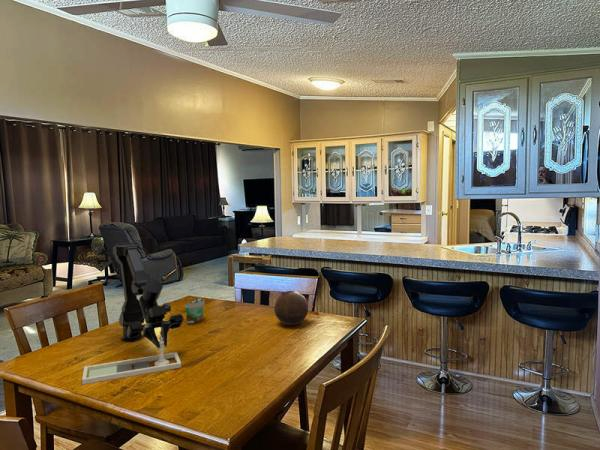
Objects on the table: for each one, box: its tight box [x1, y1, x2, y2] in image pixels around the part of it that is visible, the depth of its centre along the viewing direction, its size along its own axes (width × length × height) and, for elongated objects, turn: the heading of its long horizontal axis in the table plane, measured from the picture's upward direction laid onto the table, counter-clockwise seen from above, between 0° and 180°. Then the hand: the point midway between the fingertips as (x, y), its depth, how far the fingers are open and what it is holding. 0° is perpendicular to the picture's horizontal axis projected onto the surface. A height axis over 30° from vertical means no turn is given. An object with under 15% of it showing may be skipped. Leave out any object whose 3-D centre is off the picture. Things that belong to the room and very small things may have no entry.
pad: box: [88, 366, 117, 378], centre depth 140 cm, size 8×9×1 cm
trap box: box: [81, 351, 182, 385], centre depth 143 cm, size 30×11×2 cm, turn 114°
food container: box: [184, 296, 206, 326], centre depth 194 cm, size 12×6×10 cm, turn 168°
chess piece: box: [153, 335, 170, 367], centre depth 147 cm, size 5×5×10 cm
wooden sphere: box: [273, 290, 309, 326], centre depth 189 cm, size 15×15×15 cm
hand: (162, 347), depth 145 cm, fingers closed on chess piece
